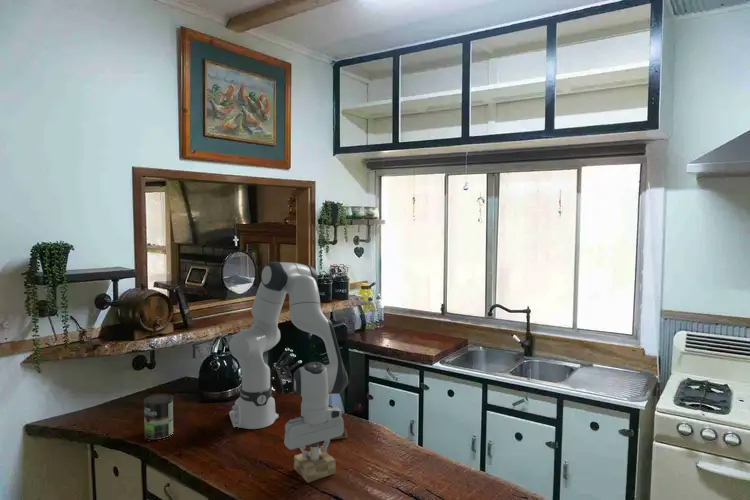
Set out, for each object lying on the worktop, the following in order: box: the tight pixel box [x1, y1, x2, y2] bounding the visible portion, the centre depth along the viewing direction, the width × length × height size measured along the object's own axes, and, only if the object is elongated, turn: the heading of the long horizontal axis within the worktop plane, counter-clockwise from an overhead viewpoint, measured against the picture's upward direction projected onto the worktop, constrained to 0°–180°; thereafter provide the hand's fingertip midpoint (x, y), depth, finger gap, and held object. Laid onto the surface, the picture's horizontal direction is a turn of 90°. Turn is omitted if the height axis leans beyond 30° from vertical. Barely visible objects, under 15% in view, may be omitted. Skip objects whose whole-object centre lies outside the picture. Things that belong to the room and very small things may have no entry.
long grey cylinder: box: [309, 442, 320, 462], centre depth 162 cm, size 3×3×10 cm
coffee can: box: [143, 393, 174, 439], centre depth 187 cm, size 10×10×14 cm
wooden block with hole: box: [293, 447, 337, 483], centre depth 162 cm, size 10×10×4 cm
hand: (314, 454), depth 162 cm, fingers open, 5 cm apart
